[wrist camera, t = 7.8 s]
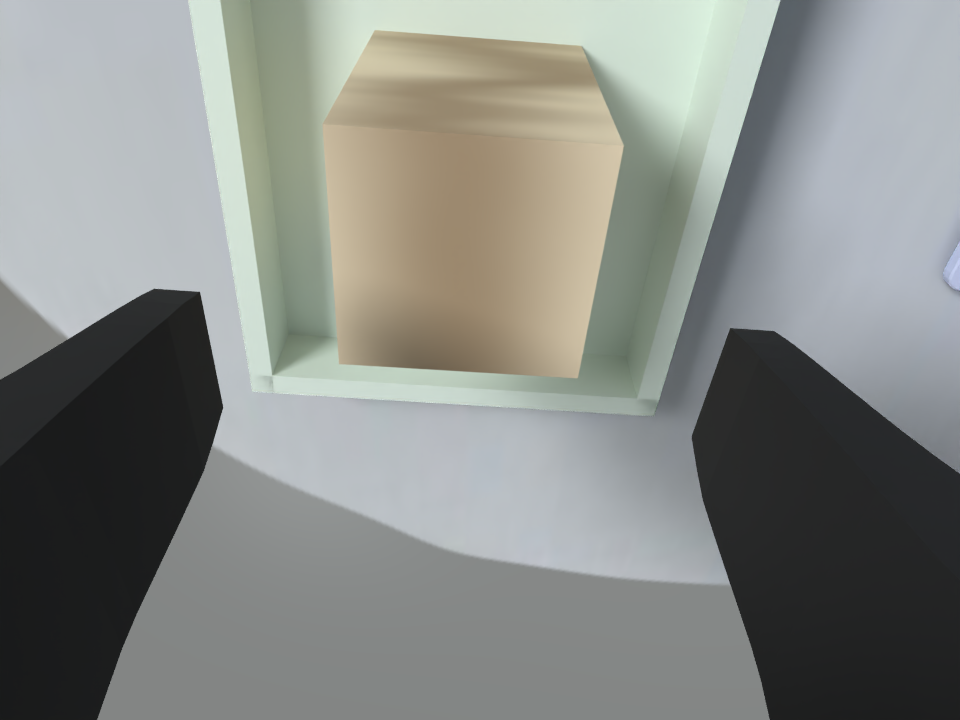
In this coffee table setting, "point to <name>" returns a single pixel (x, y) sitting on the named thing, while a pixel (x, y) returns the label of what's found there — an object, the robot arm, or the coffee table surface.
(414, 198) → the maple block
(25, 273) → the coffee table surface
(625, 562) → the coffee table surface
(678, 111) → the serving tray
